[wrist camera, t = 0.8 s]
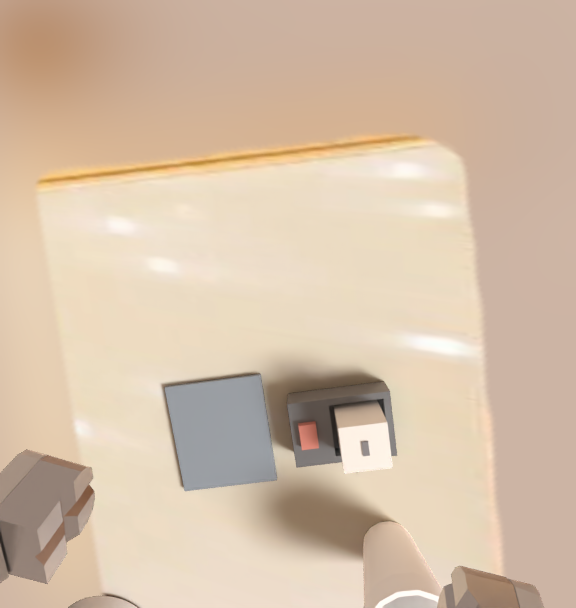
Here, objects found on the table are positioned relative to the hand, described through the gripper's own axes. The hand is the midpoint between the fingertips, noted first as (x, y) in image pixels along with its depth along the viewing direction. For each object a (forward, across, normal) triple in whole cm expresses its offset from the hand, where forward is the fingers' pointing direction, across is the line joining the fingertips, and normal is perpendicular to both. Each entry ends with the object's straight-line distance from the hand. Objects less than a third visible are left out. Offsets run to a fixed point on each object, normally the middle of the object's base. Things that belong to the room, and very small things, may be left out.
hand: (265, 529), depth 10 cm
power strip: (+37, +5, -29) cm, 47 cm away
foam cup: (+33, +15, -44) cm, 57 cm away
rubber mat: (+34, -9, -33) cm, 48 cm away
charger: (+36, +7, -28) cm, 46 cm away
